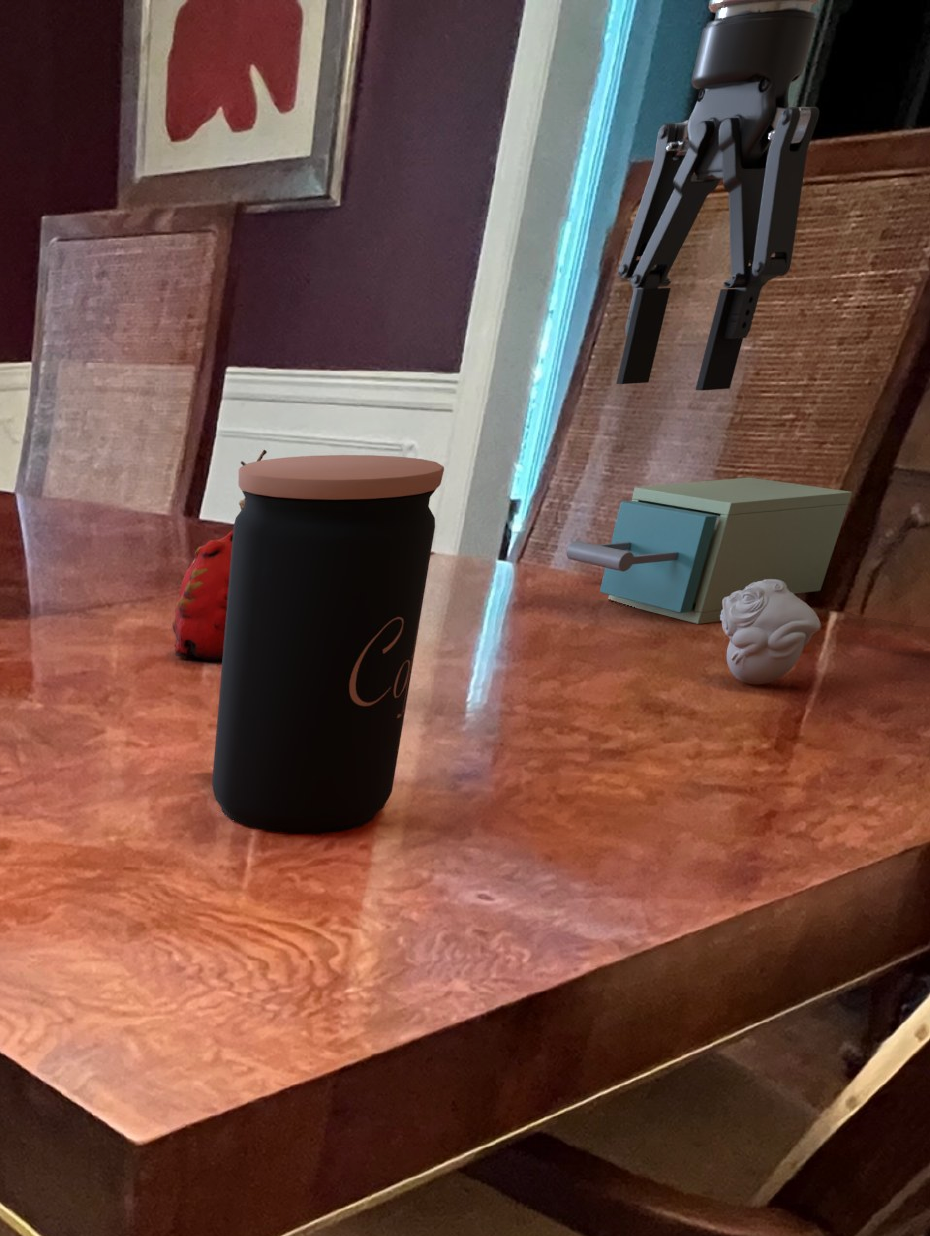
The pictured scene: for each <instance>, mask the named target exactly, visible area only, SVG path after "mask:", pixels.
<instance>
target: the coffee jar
mask: <svg viewBox="0 0 930 1236" xmlns="http://www.w3.org/2000/svg"><path fill="white" fill-rule="evenodd" d="M256 461H257V460H256ZM256 461H252V462H248V463H246V465H244V466H243V465H241V466H240V467H239V469H238V482H237V483H238V487H239V489H240V490H241V492H242V494H243V496H244V498H245V506H244V508H243V509H242V510H241V509H240V511H239V513H238V514H237V516H236V517H235V520H234V523H233V527H232V528H233V530H232V531H233V540H232V551H231V563H230V575H229V587H228V599H227V611H226V623H225V635H224V647H223V659H222V660H221V673H220V684H219V685H220V686H219V693H218V695H219V697H218V706H217V707H218V708H217V718H216V719H217V720H216V732H215V741H214V743H215V745H214V754H213V755H214V756H213V767H212V778H211V779H212V780H211V786H212V792H213V795H214V798H215V801H216V803H217V804H218V805H219V806H220V809H221V813H222V812H223V813H224V814H223V813H222V814H223V815H224V816H226V815H227V816H226V817H227V818H228V817H229V818H228V819H230V820H231V821H232V820H234V821H233V822H235V823H237V822H238V823H237V824H240V825H242V824H243V825H242V826H244V827H247V826H248V828H251V827H252V829H256V830H260V829H261V830H260V831H266V832H269V833H279V834H289V835H323V834H333V833H342V832H346V831H350V830H354V829H358V828H361V827H363V826H366V825H367V824H369V823H371V822H372V821H374V819H375V818H376V816H377V815H378V813H379V812H380V811H381V810H383V808H384V807H385V805H386V803H388V800H389V798H390V797H391V794H392V792H393V788H394V783H395V782H394V781H395V776H396V769H397V763H398V758H399V751H400V743H401V739H402V733H403V727H404V719H405V713H406V707H407V701H408V695H409V689H410V683H411V677H412V671H413V664H414V658H415V654H416V646H417V642H418V641H417V640H418V636H419V635H418V633H419V628H420V621H421V616H422V609H423V605H424V604H423V603H424V598H425V591H426V585H427V579H428V572H429V567H430V561H431V555H432V548H433V543H434V536H435V532H436V531H435V530H436V518H435V516H434V513H433V512H432V510H431V508H430V501H431V500H430V499H431V497H432V495H433V494H434V493H435V491H436V490H437V489H438V488H439V487H440V486H441V484H442V479H443V476H444V472H445V466H444V465H443V464H440V463H439V462H437V461H433V460H429V459H423V458H417V457H416V458H415V457H407V456H406V457H405V456H395V455H393V456H392V455H374V454H372V455H371V454H326V455H303V456H302V455H301V456H289V457H278V458H268V459H261V461H257V462H256Z"/></svg>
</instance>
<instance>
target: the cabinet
mask: <svg viewBox="0 0 930 1236" xmlns="http://www.w3.org/2000/svg"><path fill="white" fill-rule="evenodd" d="M852 494H853V492H852V491H848V490H841V489H834V488H827V487H821V486H820V487H819V486H813V485H805V484H799V483H793V482H792V483H791V482H784V481H777V480H770V479H764V478H758V477H757V478H756V477H739V478H737V477H736V478H726V479H716V480H714V479H713V480H704V481H693V482H683V483H682V482H680V483H671V484H658V485H648V486H646V485H645V486H635V487H634V489H633V493H632V497H631V501H636V502H641V503H647V504H653V503H660V504H666V505H672V506H678V507H683V508H689V509H695V510H701V511H707V512H712V513H718V514H721V515H720V518H719V522H718V525H717V529H716V533H715V536H714V540H713V544H712V547H711V551H710V555H709V558H708V562H707V565H706V569H705V573H704V576H703V580H702V584H701V587H700V591H699V595H698V598H697V602H696V603H693V606H692V610H691V612H682V613H679V612H675V611H671V610H667V609H664V608H660V607H656V606H652V605H648V604H644V603H640V602H636V601H632V600H628V599H624V598H620V597H616V596H613V595H609V594H608V599H611V600H614V601H617V602H620V603H623V604H626V605H625V606H627V605H629V606H628V607H630V606H632V607H631V608H634V607H635V609H639V610H642V611H646V612H649V613H650V612H651V613H654V614H658V615H660V616H661V615H662V616H665V617H668V618H669V617H670V618H673V619H677V620H681V621H685V622H689V623H692V624H696V625H703V624H710V623H719V622H722V621H721V620H720V615H721V611H722V610H723V604H722V601H723V599H724V598H725V597H727V596H730V595H731V594H732V593H733V592H736V591H739V590H742V591H743V590H744V588H745V587H746V586H748V585H749V584H751V583H754V582H758V581H762V580H765V579H775V580H780V581H783V582H784V583H785V584H786V585H787V589H788V590H789V592H792V593H793V594H794V595H795V594H805V593H812V592H821V590H822V587H823V584H824V581H825V577H826V574H827V572H828V568H829V566H830V562H831V559H832V555H833V553H834V550H835V546H836V544H837V540H838V537H839V533H840V531H841V528H842V525H843V522H844V519H845V515H846V512H847V510H848V507H849V504H850V501H851V499H852V498H851V497H852ZM608 599H607V600H608ZM623 604H622V605H623Z"/></svg>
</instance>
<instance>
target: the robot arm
mask: <svg viewBox="0 0 930 1236" xmlns="http://www.w3.org/2000/svg"><path fill="white" fill-rule="evenodd" d="M820 1H821V0H709V3H708V9H709V11H710V12H711V13H713V14H715V17H714V20H711V21H708V22H707V23H706V27H704V28H702V31H701V36H700V40H699V44H698V49H697V54H696V58H695V63H694V66H693V72H692V75H691V85H692V87H693V88H694V89H696V90H697V93H698V96H697V99H696V100H697V101H696V103H695V105H694V108H693V110H692V111H691V114H690V116H689V119H687V120H684V121H682V122H670V123H669V122H668V123H665V122H664V123H663V124H662V125H661V126H660V128H659V129H658V132H657V138H656V144H655V150H654V151H655V152H654V157H653V158H654V159H653V163H652V166H651V169H650V173H649V176H648V179H647V182H646V185H645V187H644V191H643V194H642V198H641V200H640V204H639V206H638V209H637V212H636V215H635V217H634V221H633V224H632V227H631V229H630V230H631V231H630V234H629V236H628V240H627V243H626V246H625V248H624V252H623V253H622V254H623V255H622V257H621V260H620V263H619V267H618V272H617V274H618V277H619V278H620V279H626V280H627V281H628V282H630V285H631V288H633V289H632V295H631V299H630V305H629V310H628V313H627V314H628V315H627V320H626V323H625V324H626V325H625V328H624V329H625V331H624V332H625V333H624V334H625V336H626V338H625V342H624V346H623V352H622V356H621V361H620V365H619V369H618V374H617V378H616V384H617V385H630V384H646V383H649V382H650V378H651V373H652V371H653V370H652V369H653V365H654V361H655V357H656V353H657V348H658V344H659V341H660V335H661V332H662V326H663V323H664V318H665V314H666V310H667V305H668V301H669V296H670V292H671V287H668V286H670V284H671V283H672V280H671V279H670V278H669V277H668V275H669V274H670V271H671V269H672V267H673V265H674V263H675V261H676V259H677V257H678V256H679V253H680V251H681V250H682V247H683V246H684V243H685V241H686V239H687V237H688V235H689V233H690V231H691V229H692V228H693V226H694V224H695V221H696V219H697V218H698V215H699V213H700V211H701V210H702V207H703V205H704V203H705V202H706V199H707V198H708V196H709V195H710V194H711V193H713V192H714V191H715V190H716V189H717V188H718V186H719V184H720V182H721V180H722V185H723V186H722V187H723V189H724V190H726V191H727V192H728V193H727V194H728V218H729V219H728V220H729V221H728V222H729V250H730V278H729V279H727V280H726V281H724V282H723V287H724V288H722V289H720V291H719V294H718V298H717V299H718V300H717V302H716V307H715V311H714V314H713V318H712V322H711V326H710V330H709V333H708V334H709V335H708V338H707V342H706V346H705V350H704V354H703V358H702V362H701V366H700V370H699V373H698V378H697V382H696V386H695V388H694V389H695V391H701V392H702V391H715V390H730V389H731V386H732V382H733V377H734V374H735V371H736V367H737V363H738V359H739V355H740V351H741V347H742V345H743V344H742V343H743V340H744V339H747V337H748V335H749V333H750V331H751V327H752V324H753V320H754V317H755V313H756V309H757V306H758V301H759V297H760V294H761V291H762V289H763V287H764V286H765V285H766V284H767V283H768V282H770V281H771V280H774V279H775V278H777V277H784V276H786V274H788V272H789V271H790V269H791V265H792V259H793V253H794V247H795V246H794V245H795V238H796V231H797V226H798V217H799V210H800V203H801V199H802V198H801V196H802V190H803V182H804V177H805V169H806V162H807V156H808V149H809V147H810V146H809V145H810V143H811V140H812V138H813V135H814V131H815V129H816V127H817V123H818V120H819V118H820V117H819V116H820V110H819V108H818V107H817V106H790V103H789V91H790V88H791V87H790V86H791V84H792V83H794V82H796V81H797V80H798V79H800V77H801V76H802V75H803V73H804V70H805V66H806V62H807V59H808V55H809V51H810V47H811V43H812V39H813V36H814V32H815V28H816V24H817V22H818V19H817V18H816V17H815V16H816V14H815V12H811V10H812V6H813V5H816V4H817V3H820ZM773 254H774V256H773ZM638 257H639V258H640V259H638Z"/></svg>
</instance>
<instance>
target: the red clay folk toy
mask: <svg viewBox="0 0 930 1236" xmlns="http://www.w3.org/2000/svg"><path fill="white" fill-rule="evenodd" d="M267 453H268V451H267V450H266V449H263V450H262V452H261V453H260V455H259V456H258V458H257V459H256V461H255V462H257V461H262V460H263V457H264V456H265V455H266V454H267ZM240 464H241V466H244V465H246V464H247V463H245V461H243V460H241V461H240ZM238 505H239V507H240V511H241V510H242V509H243V508H244V506H245V497H244V498H243V499H240V500H239V501H238ZM232 540H233V530H230V532H228V534H227V535H225V536H224V537H222V538H219V539H210V540H208V541H207V542H206V543H205V544H204V545H202V546H199V547H197V549H196V550H195V552H194V560H193V561H192V562H191V564H190V566H189V567H188V569H187V570H186V572H185V573H184V576H183V579H182V581H181V582H182V583H181V585H180V589H179V594H178V600H177V602H176V603H175V605H174V606H175V608H174V618H173V620H172V630H173V633H174V634H175V642H174V654H175V656H177V657H179V658H185V659H187V658H188V659H192V658H193V657H194V658H197V659H202V660H204V661H208V662H209V661H210V662H211V661H214V662H218V661H222V659H223V647H224V635H225V623H226V611H227V599H228V587H229V575H230V563H231V551H232Z"/></svg>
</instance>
